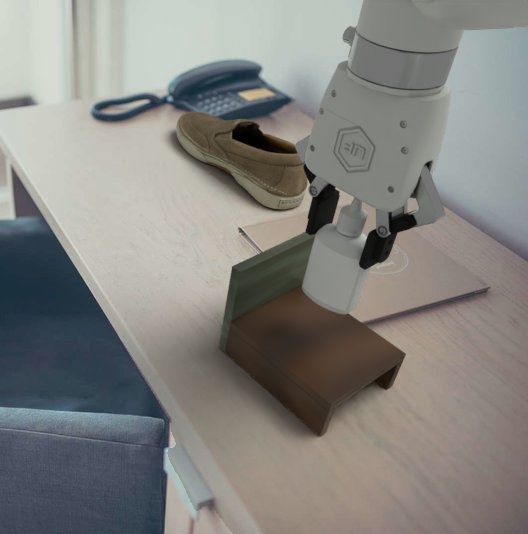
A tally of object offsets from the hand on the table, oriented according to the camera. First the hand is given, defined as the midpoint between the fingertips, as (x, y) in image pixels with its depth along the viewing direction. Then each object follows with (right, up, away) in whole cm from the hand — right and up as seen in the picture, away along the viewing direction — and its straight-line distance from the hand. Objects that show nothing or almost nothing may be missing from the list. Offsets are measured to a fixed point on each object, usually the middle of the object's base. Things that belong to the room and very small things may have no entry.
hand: (344, 244), depth 61 cm
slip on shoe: (-3, +14, +46) cm, 49 cm away
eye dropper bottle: (0, -6, +4) cm, 7 cm away
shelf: (-1, -14, +11) cm, 17 cm away
